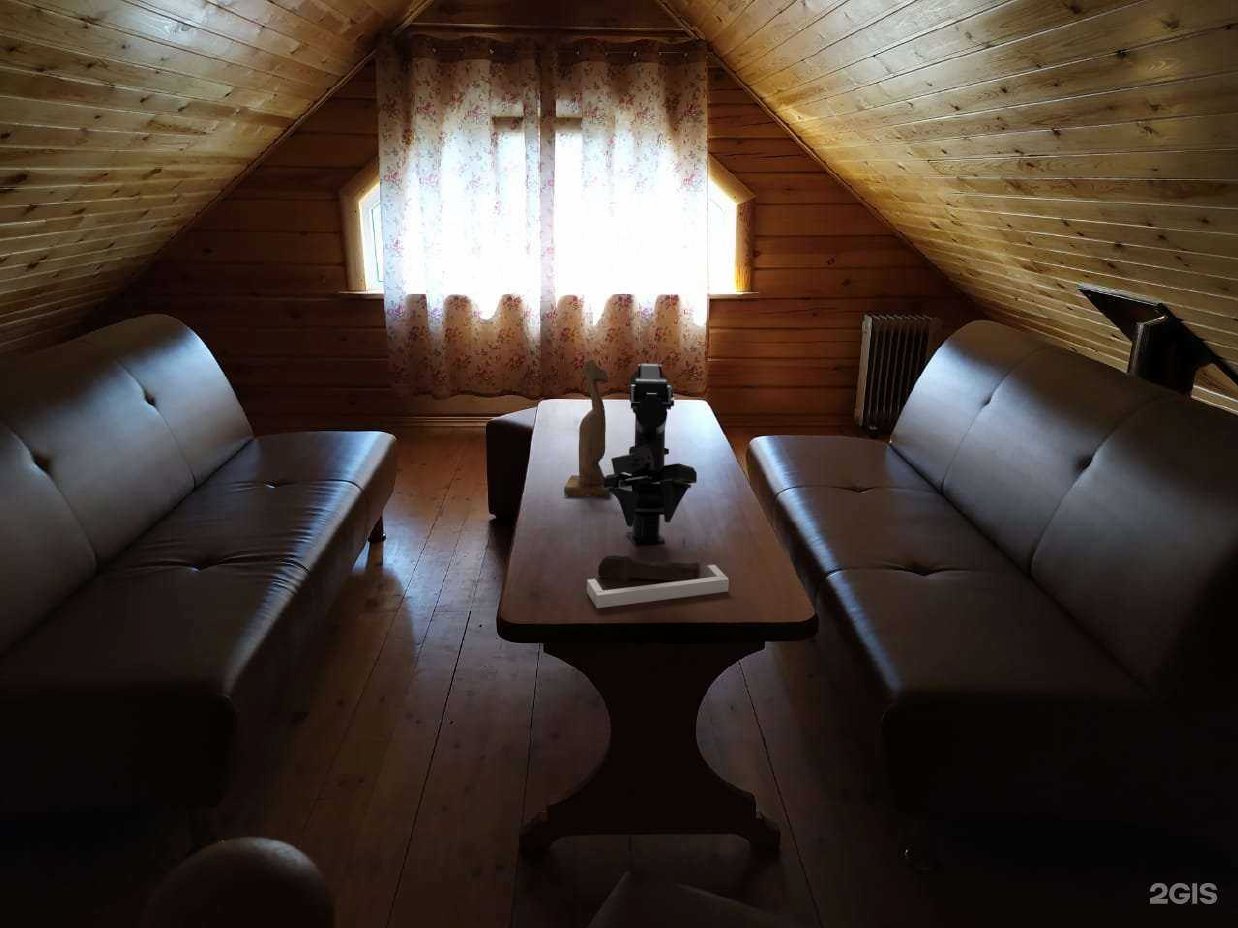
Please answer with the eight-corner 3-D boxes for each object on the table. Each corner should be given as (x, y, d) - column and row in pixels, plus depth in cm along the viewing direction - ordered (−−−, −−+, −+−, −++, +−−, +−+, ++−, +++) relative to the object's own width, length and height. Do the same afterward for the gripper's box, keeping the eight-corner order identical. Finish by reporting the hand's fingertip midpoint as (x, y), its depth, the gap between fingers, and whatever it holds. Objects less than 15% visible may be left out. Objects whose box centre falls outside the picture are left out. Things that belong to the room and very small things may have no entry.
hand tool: (699, 578, 167) (700, 556, 166) (698, 587, 163) (700, 564, 162) (600, 572, 169) (601, 549, 168) (597, 581, 165) (597, 558, 164)
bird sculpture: (613, 500, 207) (620, 366, 197) (563, 497, 207) (568, 363, 198) (615, 485, 218) (622, 357, 208) (568, 482, 218) (572, 354, 208)
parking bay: (587, 592, 160) (587, 579, 159) (713, 576, 167) (714, 564, 167) (597, 608, 154) (597, 595, 153) (728, 591, 162) (728, 578, 161)
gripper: (584, 441, 167) (581, 523, 164) (659, 426, 155) (658, 513, 151) (624, 452, 175) (622, 530, 172) (698, 438, 163) (698, 522, 159)
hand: (648, 524), depth 163 cm, fingers open, 9 cm apart
